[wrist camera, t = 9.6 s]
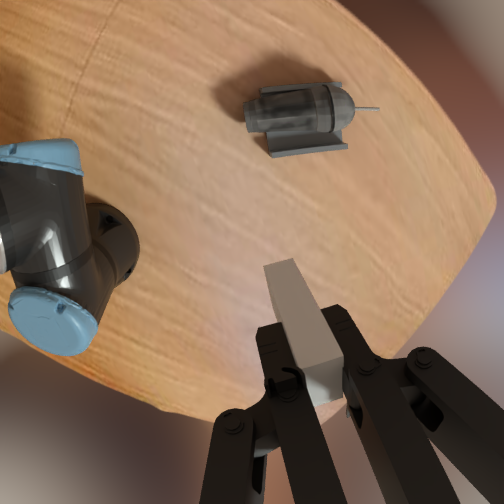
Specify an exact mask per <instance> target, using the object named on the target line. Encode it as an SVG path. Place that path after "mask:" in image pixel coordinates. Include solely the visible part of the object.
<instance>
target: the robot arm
mask: <svg viewBox="0 0 504 504" xmlns="http://www.w3.org/2000/svg"><path fill="white" fill-rule="evenodd" d="M83 176H84V172H83V171H82V169H81V161H80V153H79V148H78V146H77V144H76V143H75V142H74V141H73V140H71V139H68V138H58V139H46V140H36V141H28V142H21V143H13V144H7V145H0V274H4V273H5V272H7V271H9V270H10V271H11V274H12V277H13V280H14V283H15V286H16V289H15V290H14V291H13V292H12V293H11V295H10V301H9V303H8V312H9V316H10V318H11V321H12V322H13V324H14V326H15V327H16V329H17V330H18V331H19V332H20V333H21V335H22V336H23V337H25V338H26V339H27V340H28V341H29V342H31V343H32V344H34V345H35V346H37V347H38V348H40V349H42V350H44V351H46V352H49V353H52V354H56V355H61V356H73V355H77V354H80V353H82V352H83V351H84V350H86V348H87V347H88V346H89V345H90V343H91V341H92V339H93V337H94V336H95V335H96V333H97V331H98V325H99V323H100V320H101V318H102V315H103V313H104V310H105V308H106V306H107V303H108V301H109V299H110V296H111V294H112V292H113V289H114V288H115V287H117V286H118V285H119V284H121V283H122V282H123V281H125V280H126V279H127V278H128V277H129V276H130V275H131V273H132V272H133V270H134V268H135V266H136V263H137V261H138V258H139V252H140V245H139V239H138V235H137V233H136V230H135V228H134V227H133V225H132V223H131V222H130V221H129V220H128V218H127V217H126V216H125V215H124V214H122V213H121V212H120V211H118V210H117V209H115V208H113V207H111V206H109V205H106V204H101V203H90V204H86V202H85V195H84V187H83V178H82V177H83ZM263 267H264V271H265V276H266V280H267V284H268V289H269V293H270V297H271V302H272V306H273V310H274V313H275V316H276V319H277V322H278V323H274V324H271V325H267V326H263V327H259V328H258V330H257V334H256V337H255V338H256V342H257V347H258V351H259V355H260V360H261V364H262V368H263V373H264V377H265V379H264V386H265V389H266V392H265V394H264V396H263V398H262V399H261V400H260V401H259V402H257V403H256V404H255V405H253V406H251V407H249V408H247V409H246V410H243V409H237V408H234V409H228V410H226V411H224V412H222V413H221V414H220V415H219V416H218V417H217V418H216V420H215V423H214V426H213V432H212V437H211V442H210V448H209V454H208V458H207V464H206V470H205V475H204V480H203V486H202V491H201V497H200V502H199V504H263V502H264V491H265V478H266V465H267V453H269V452H271V451H273V450H274V449H276V448H278V447H281V450H282V455H283V459H284V463H285V467H286V471H287V475H288V479H289V483H290V486H291V490H292V494H293V498H294V502H295V504H347V501H346V498H345V495H344V492H343V489H342V487H341V483H340V480H339V478H338V475H337V472H336V469H335V466H334V463H333V460H332V458H331V455H330V452H329V449H328V446H327V443H326V440H325V437H324V435H323V432H322V429H321V426H320V423H319V420H318V418H317V415H316V412H315V409H314V407H315V406H318V405H322V404H325V403H328V402H331V401H334V400H337V399H340V398H343V392H344V394H345V397H346V399H347V408H346V415H347V418H348V417H349V416H351V418H352V420H353V423H354V426H355V428H356V430H357V433H358V435H359V437H360V440H361V442H362V444H363V447H364V450H365V452H366V454H367V457H368V459H369V462H370V464H371V467H372V469H373V472H374V474H375V476H376V479H377V481H378V484H379V487H380V489H381V491H382V494H383V497H384V499H385V502H386V504H460V501H459V499H458V497H457V495H456V493H455V491H454V489H453V487H452V485H451V482H450V480H449V478H448V476H447V475H446V472H445V471H444V468H443V466H442V465H441V462H440V461H439V458H438V457H437V455H436V453H435V451H434V449H433V447H432V445H431V443H430V441H429V439H430V440H431V441H432V442H433V444H434V445H435V446H436V447H437V448H438V449H439V450H440V451H441V452H442V453H443V454H444V455H445V456H446V457H447V458H448V459H449V460H450V461H451V463H452V464H454V466H455V467H456V468H457V469H458V470H459V471H460V472H461V473H462V474H463V475H464V476H465V477H466V478H467V479H468V480H469V482H470V483H471V484H472V485H473V486H474V487H475V488H476V489H477V490H478V491H479V492H480V493H481V494H482V495H483V496H484V497H485V498H486V499H487V500H488V502H489V503H490V504H504V410H503V409H502V408H501V407H500V406H499V405H498V404H496V403H495V402H494V401H493V400H492V399H491V398H490V397H488V395H486V394H485V393H484V392H483V391H482V390H481V389H479V388H478V387H477V386H476V385H475V384H474V383H473V382H471V381H470V380H469V379H468V378H467V377H466V376H464V375H463V374H462V373H461V372H460V371H459V370H458V369H456V368H455V367H454V366H453V365H452V364H451V363H449V362H448V361H447V360H446V359H444V358H443V357H442V356H441V355H440V354H439V353H437V352H436V351H435V350H433V349H431V348H428V347H418V348H416V349H413V350H412V351H411V352H410V353H409V354H408V357H407V358H399V359H384V358H381V357H380V356H378V355H376V354H374V353H373V352H372V351H371V349H370V348H369V346H368V344H367V343H366V341H365V339H364V338H363V336H362V334H361V333H360V331H359V329H358V328H357V327H356V324H355V323H354V321H353V320H352V318H351V316H350V315H349V313H348V312H347V310H346V309H344V308H343V307H341V306H340V305H338V304H336V305H333V306H330V307H327V308H323V309H320V308H319V306H318V304H317V303H316V301H315V299H314V297H313V295H312V293H311V291H310V289H309V287H308V286H307V284H306V282H305V280H304V278H303V276H302V274H301V273H300V271H299V269H298V267H297V265H296V263H295V261H294V260H293V258H291V259H288V260H284V261H280V262H276V263H273V264H269V265H265V266H263ZM428 438H429V439H428Z"/></svg>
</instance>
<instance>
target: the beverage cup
mask: <svg viewBox="0 0 504 504" xmlns="http://www.w3.org/2000/svg"><path fill="white" fill-rule="evenodd" d="M243 108H244V115H245V121H246V126H247V130H248V133H250V132H279V131H318V132H329V133H331V132H333V131H338V130H341V129H343V128H344V127H346V126H347V125H349V124H350V123H351V121H352V119H353V117H354V114H355V110H373V111H379V110H380V108H374V107H355V105H354V102H353V100H352V98H351V96H350V95H349V94H348V93H347V92H346V91H345V90H343V89H341V88H339V87H336V86H330V85H323V84H322V86H316V87H312V88H309V89H306V90H300V91H294V92H289V93H283V94H278V95H273V96H268V97H264V98H259V99H255V100H252V101H249V102H244V103H243Z"/></svg>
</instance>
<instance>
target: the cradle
mask: <svg viewBox="0 0 504 504" xmlns="http://www.w3.org/2000/svg"><path fill="white" fill-rule="evenodd" d="M322 84H323V85H330V86H336V87H342V83H341V82H328V83H307V84H293V85H282V86H272V87H263V88H260V89H259V90H260V96H261V98H264V97H268V96H273V95H278V94H283V93H289V92H294V91H300V90H306V89H309V88H312V87H316V86H322ZM266 135H267V142H268V149H269V156H270V157H272V158H277V157H284V156H291V155H299V154H306V153H315V152H323V151H332V150H342V149H348V144H346V143H344V142H342V132H341V130H338V131H333V132H331V133H329V132H318V131H279V132H266Z"/></svg>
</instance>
